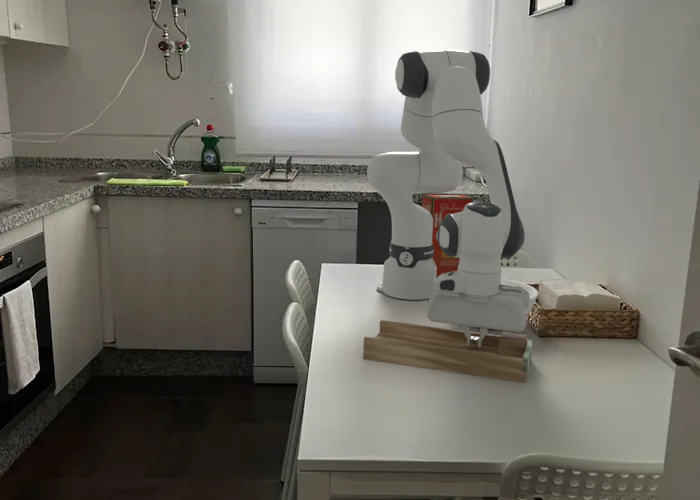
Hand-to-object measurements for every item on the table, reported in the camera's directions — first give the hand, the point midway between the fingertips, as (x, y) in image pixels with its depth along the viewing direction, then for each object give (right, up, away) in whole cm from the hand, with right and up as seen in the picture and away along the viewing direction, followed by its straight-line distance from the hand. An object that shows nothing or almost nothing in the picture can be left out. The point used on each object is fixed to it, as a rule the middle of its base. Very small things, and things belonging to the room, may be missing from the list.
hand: (474, 346), depth 148 cm
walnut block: (+7, -2, -3) cm, 8 cm away
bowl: (+8, +2, +26) cm, 27 cm away
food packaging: (+2, +11, +64) cm, 65 cm away
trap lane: (-6, -3, 0) cm, 6 cm away
